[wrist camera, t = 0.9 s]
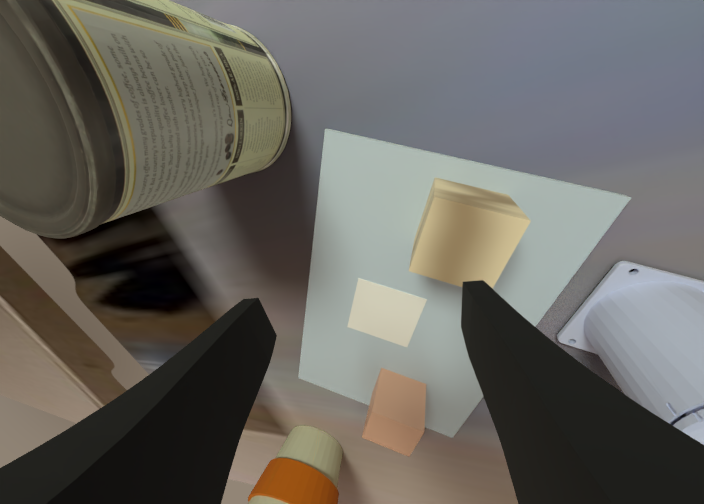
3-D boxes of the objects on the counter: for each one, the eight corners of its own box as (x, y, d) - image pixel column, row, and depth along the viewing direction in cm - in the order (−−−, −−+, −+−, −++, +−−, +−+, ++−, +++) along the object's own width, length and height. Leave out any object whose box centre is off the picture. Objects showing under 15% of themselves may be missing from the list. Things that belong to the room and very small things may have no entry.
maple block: (508, 194, 18) (530, 220, 13) (478, 256, 20) (489, 295, 16) (434, 177, 18) (433, 196, 14) (414, 239, 21) (408, 271, 17)
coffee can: (208, 178, 25) (-7, 241, 13) (157, 43, 20) (-246, -56, 8) (306, 168, 22) (143, 238, 10) (272, 4, 17) (-113, -247, 5)
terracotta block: (426, 383, 28) (424, 432, 24) (412, 409, 31) (409, 456, 26) (381, 367, 29) (371, 411, 25) (371, 393, 32) (361, 437, 27)
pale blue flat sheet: (625, 195, 16) (631, 198, 16) (452, 432, 32) (452, 438, 31) (328, 128, 20) (324, 129, 19) (300, 374, 35) (298, 378, 34)
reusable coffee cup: (303, 462, 47) (253, 593, 34) (267, 417, 43) (196, 546, 30) (366, 469, 42) (335, 626, 29) (332, 418, 38) (279, 575, 25)
